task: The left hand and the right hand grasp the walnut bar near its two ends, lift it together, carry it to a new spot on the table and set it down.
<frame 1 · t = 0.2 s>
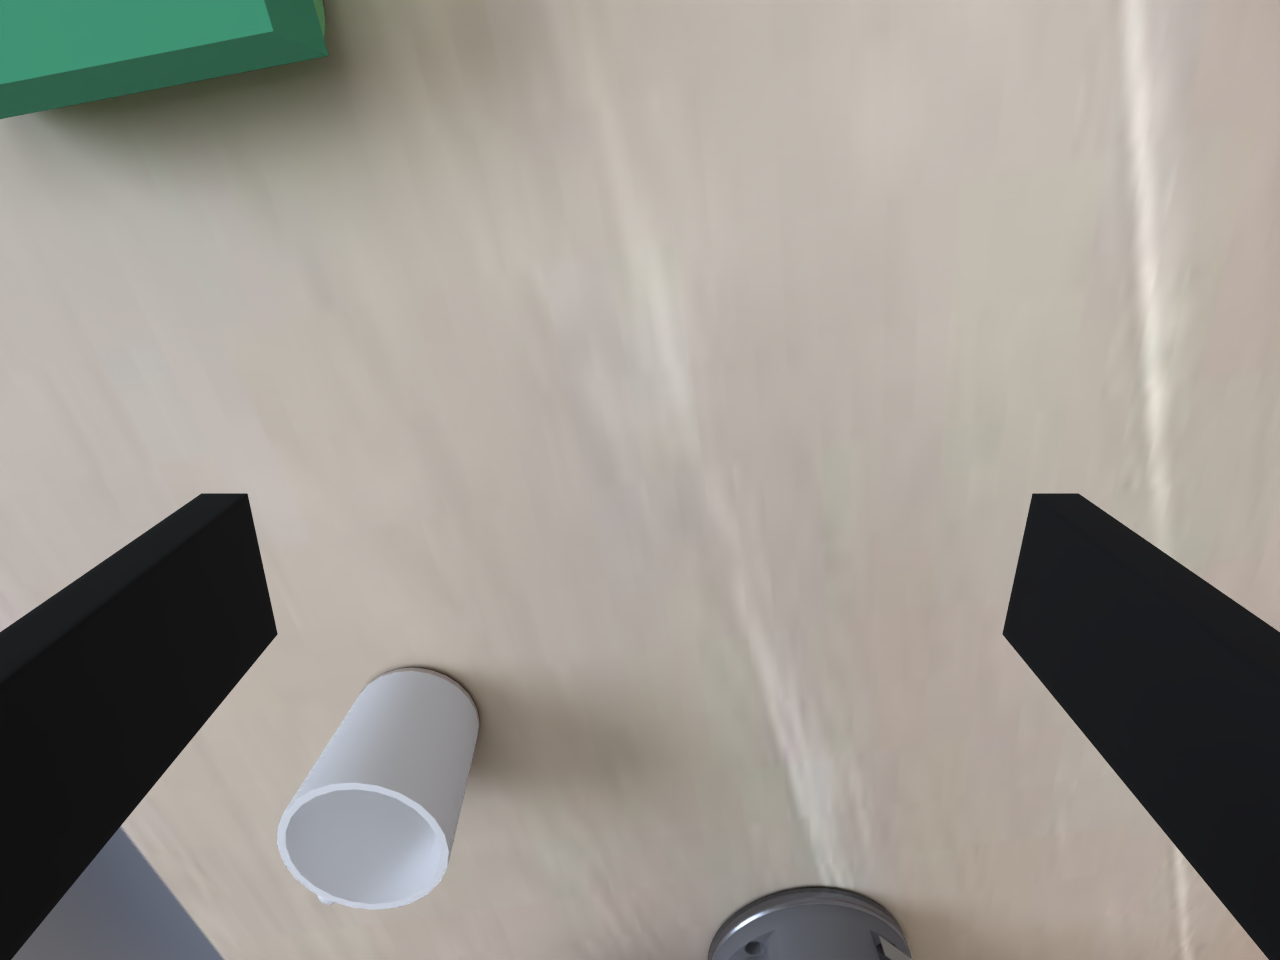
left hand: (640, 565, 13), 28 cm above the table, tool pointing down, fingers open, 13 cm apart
mug: (412, 725, 48), on the table
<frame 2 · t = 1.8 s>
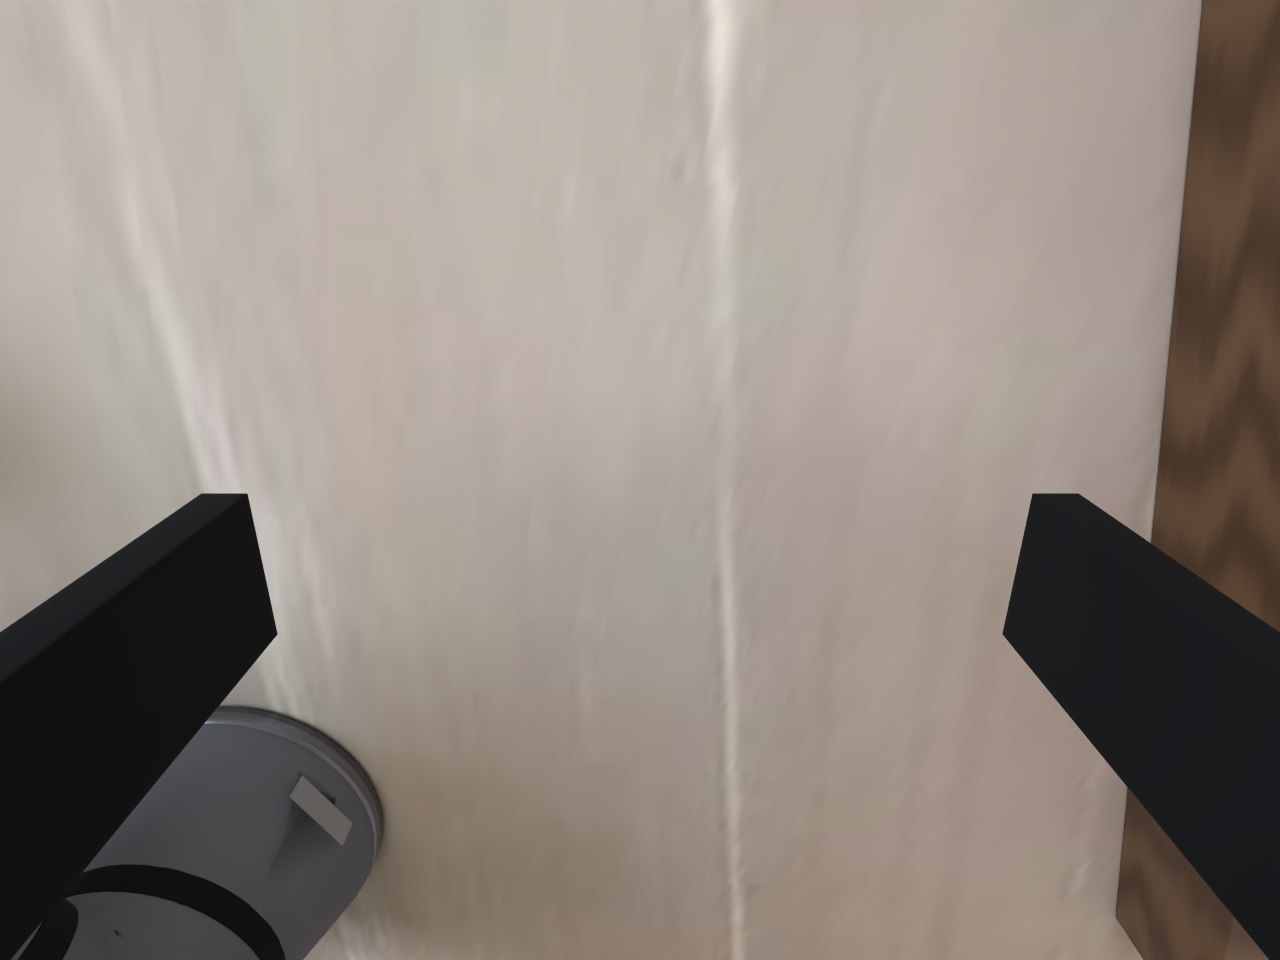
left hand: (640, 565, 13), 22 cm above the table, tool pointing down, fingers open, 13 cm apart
bar: (1245, 246, 31), on the table
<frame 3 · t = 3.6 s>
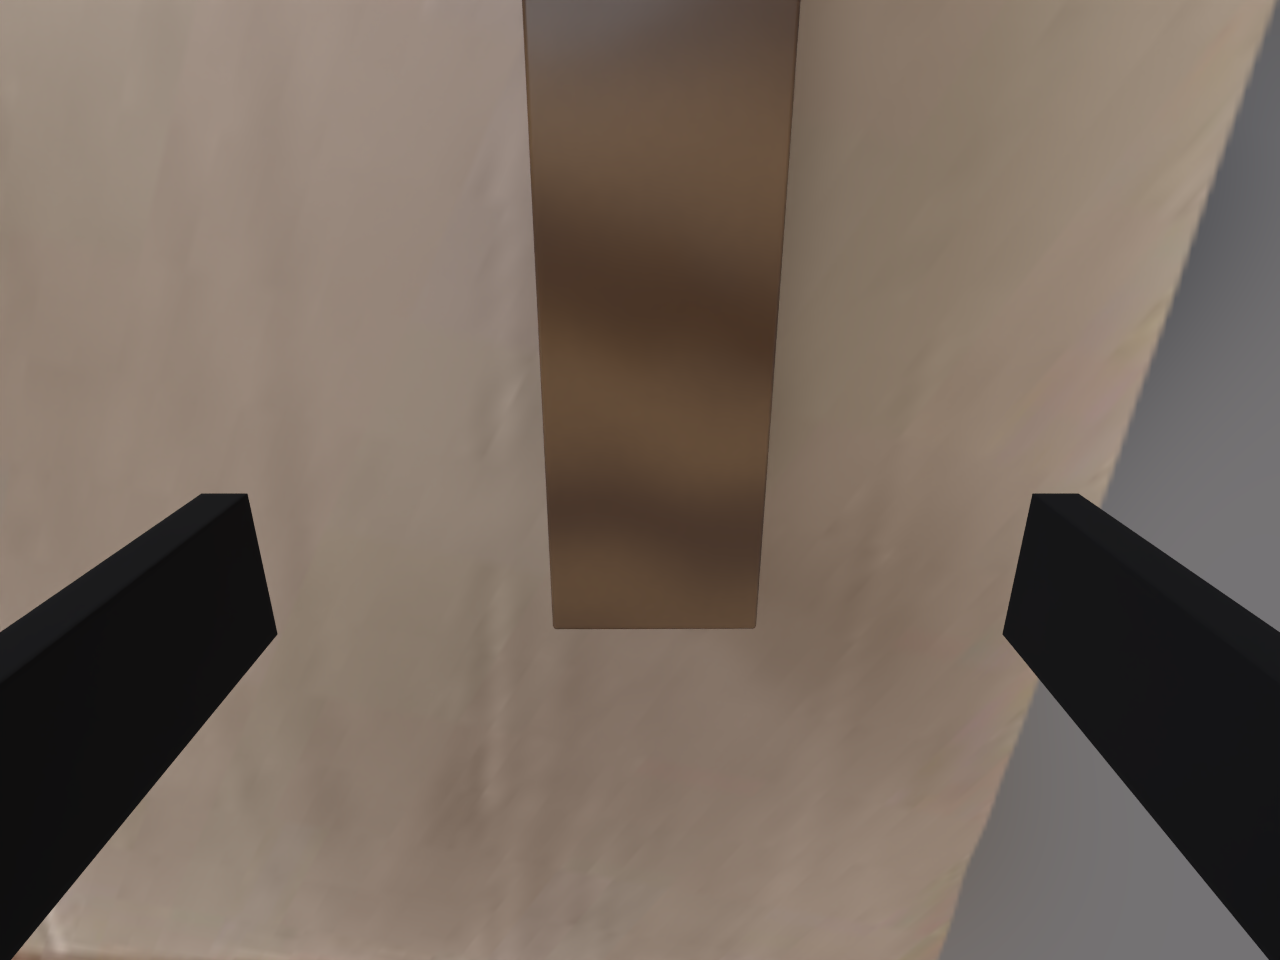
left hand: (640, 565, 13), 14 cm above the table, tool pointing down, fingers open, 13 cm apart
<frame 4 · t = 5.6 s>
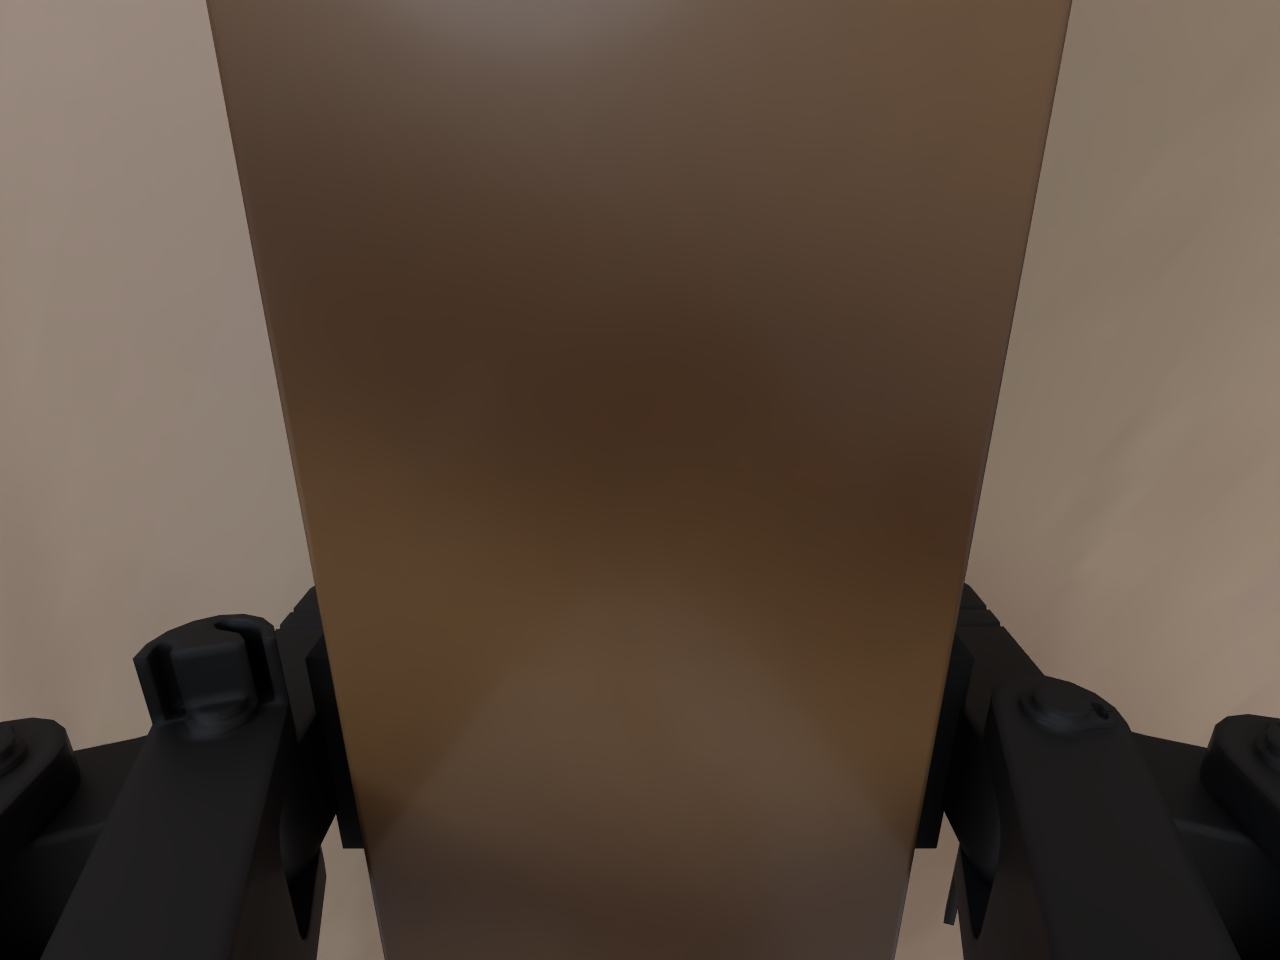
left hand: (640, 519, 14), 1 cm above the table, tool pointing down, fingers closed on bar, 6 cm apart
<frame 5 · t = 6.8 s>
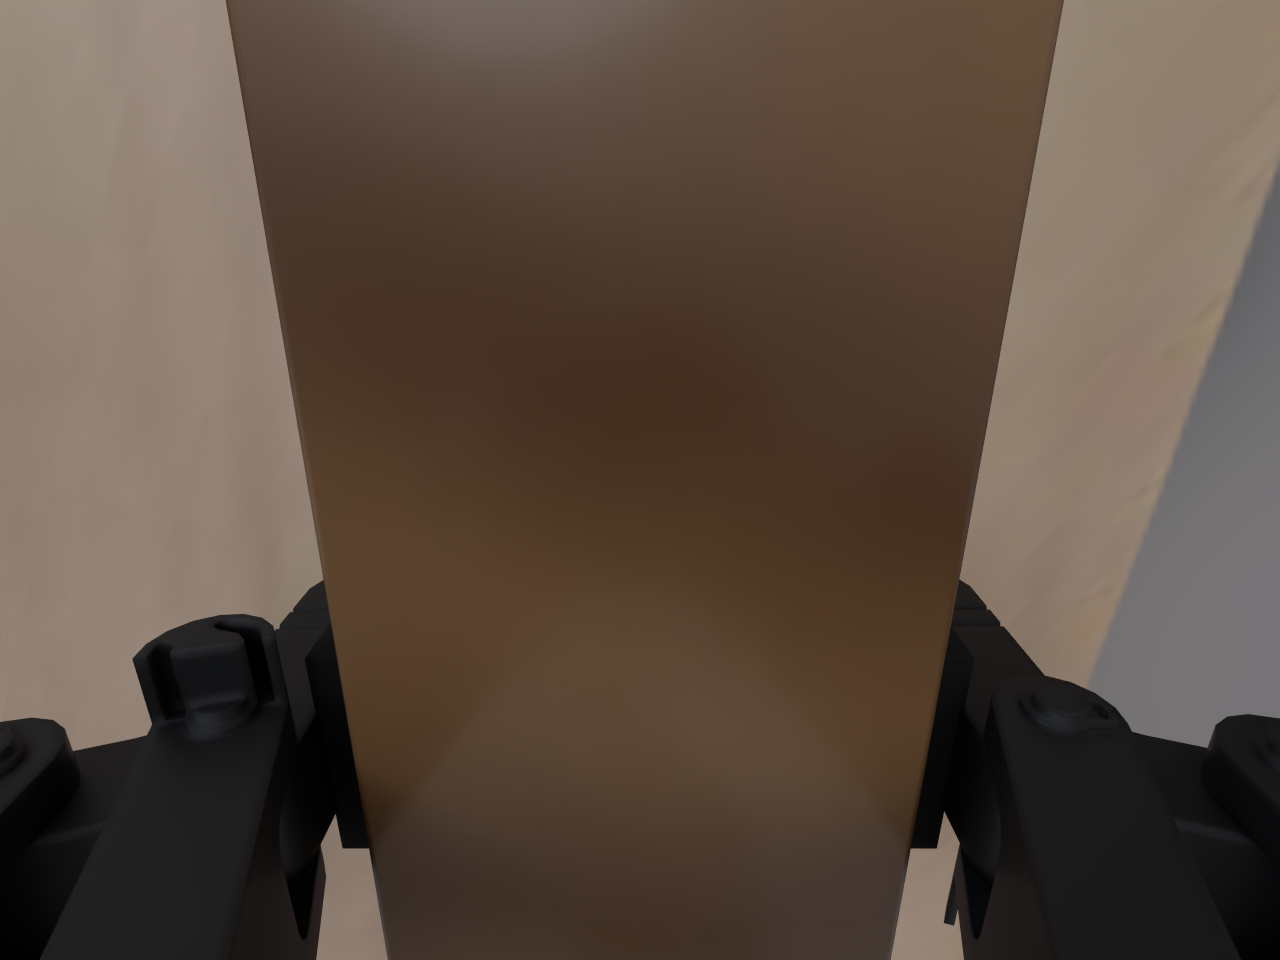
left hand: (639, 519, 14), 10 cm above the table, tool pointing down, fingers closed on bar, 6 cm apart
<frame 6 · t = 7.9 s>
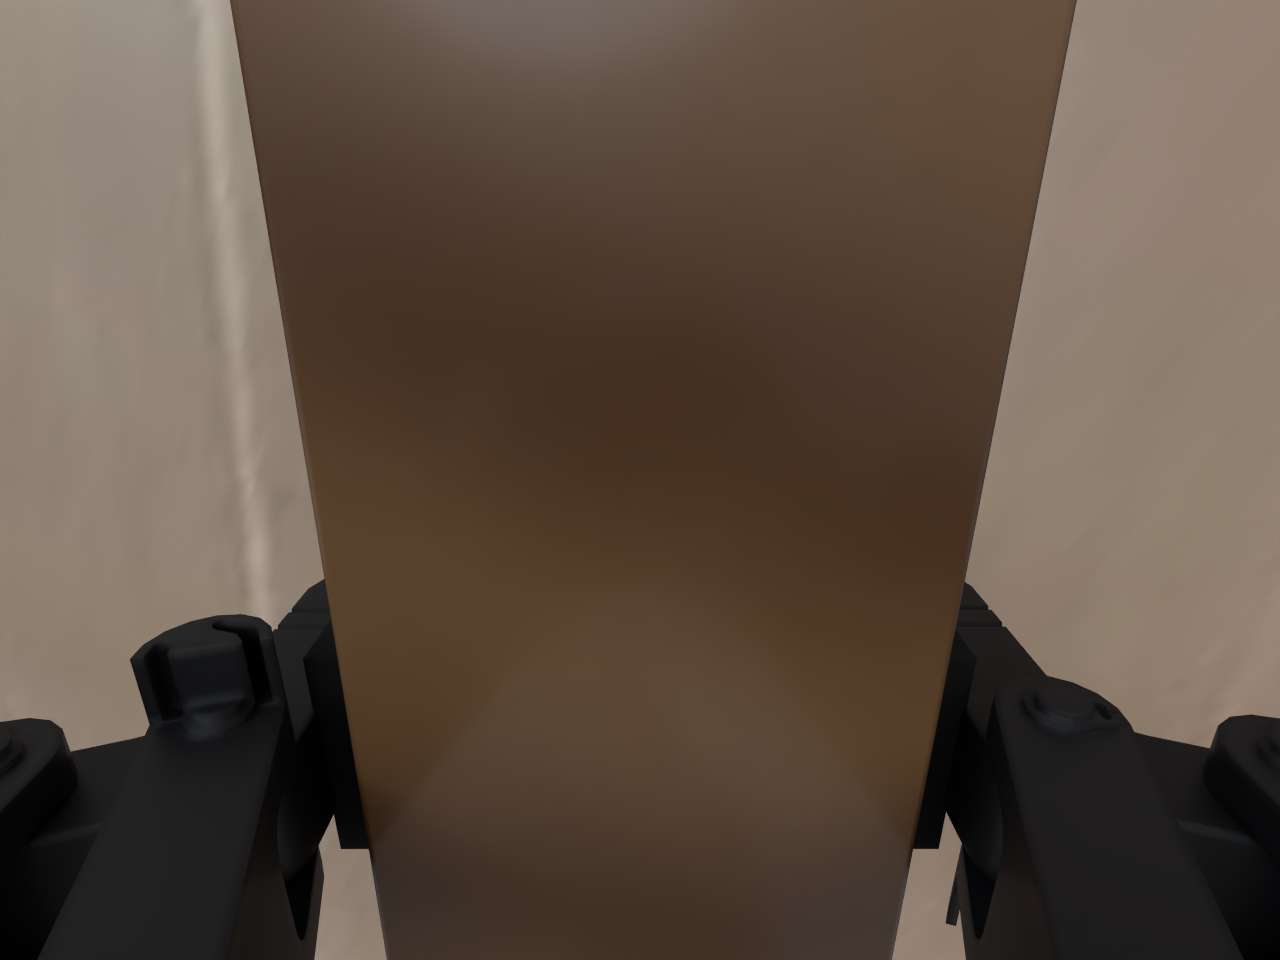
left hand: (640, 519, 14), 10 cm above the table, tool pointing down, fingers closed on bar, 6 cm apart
when the left hand's fingers open (2 cm above the table, at t = 10.1 s): bar drops 1 cm, held by the right hand.
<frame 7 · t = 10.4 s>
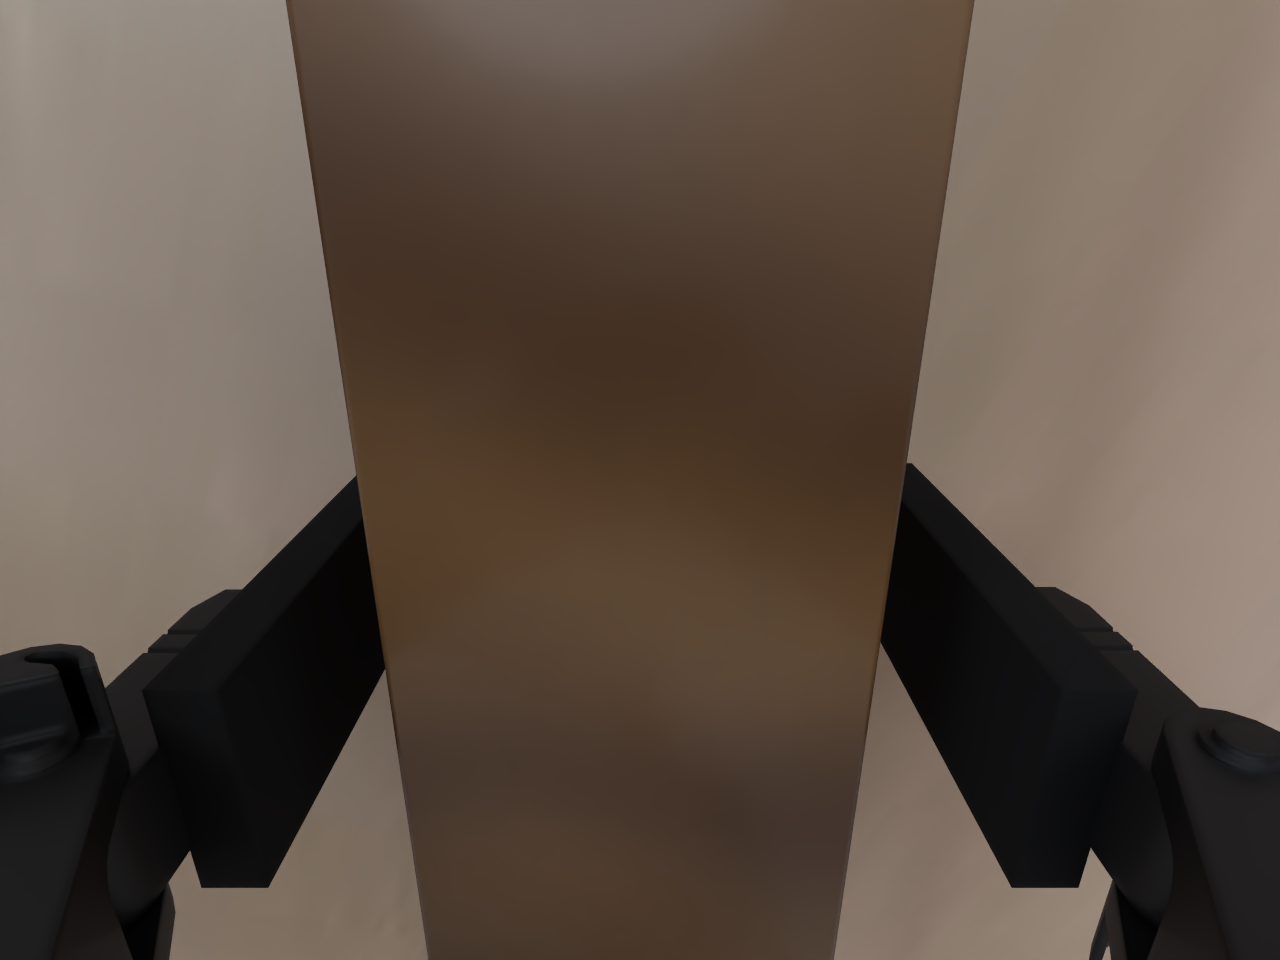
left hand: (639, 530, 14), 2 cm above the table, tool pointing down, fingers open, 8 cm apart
when the right hand's fingers open (4 cm above the table, at t = 10.4 s): bar stays where it is, on the table.
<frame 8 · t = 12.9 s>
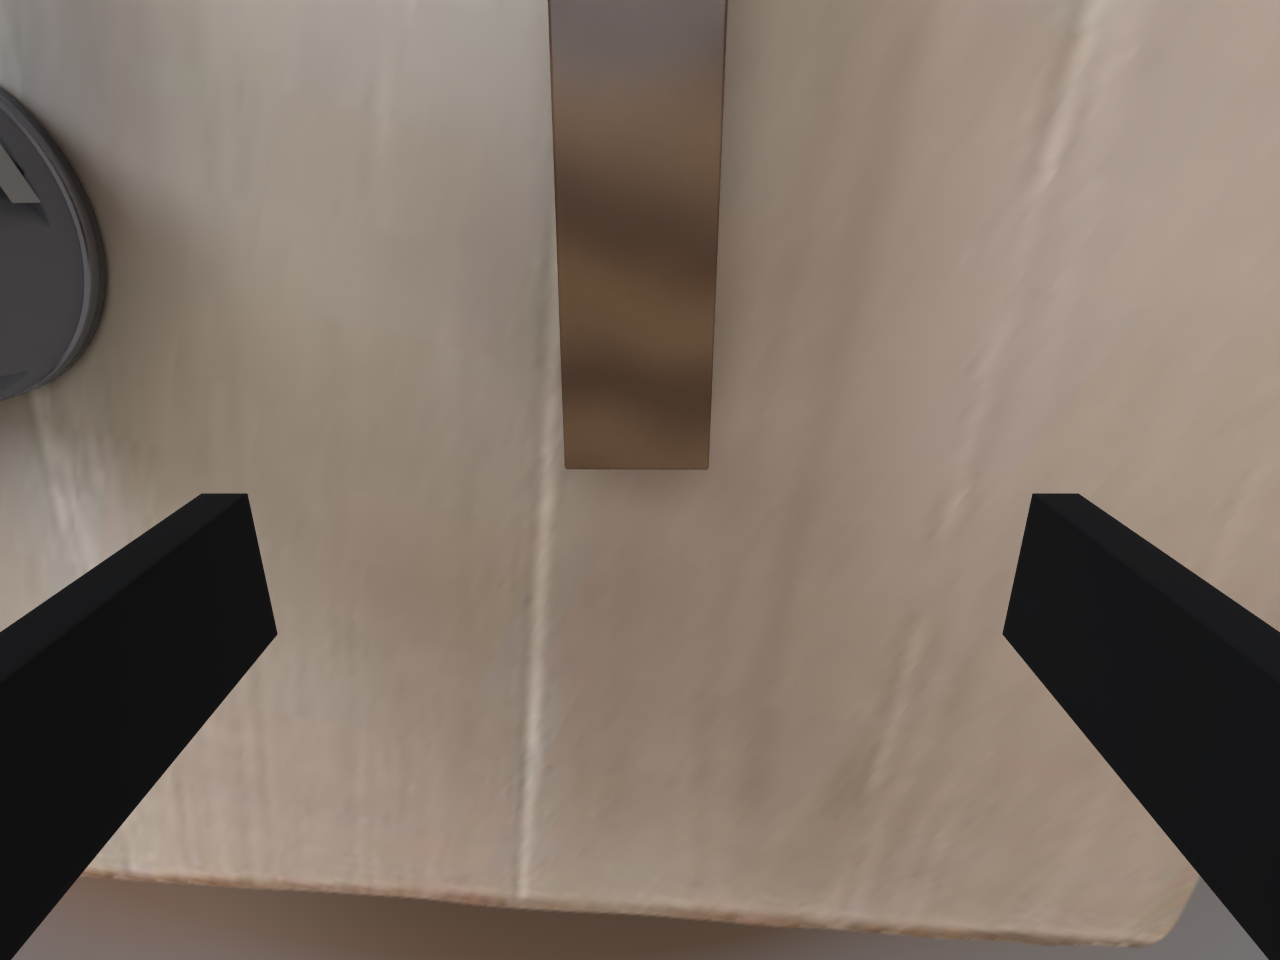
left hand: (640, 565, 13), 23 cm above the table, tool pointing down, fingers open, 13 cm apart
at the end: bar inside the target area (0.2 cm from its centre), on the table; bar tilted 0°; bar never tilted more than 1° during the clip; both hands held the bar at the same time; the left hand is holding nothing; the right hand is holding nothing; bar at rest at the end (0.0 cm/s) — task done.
